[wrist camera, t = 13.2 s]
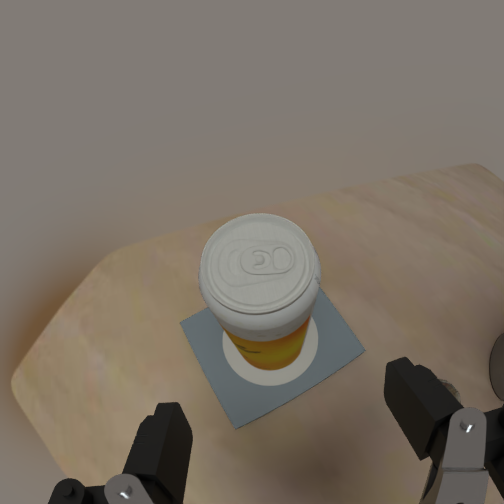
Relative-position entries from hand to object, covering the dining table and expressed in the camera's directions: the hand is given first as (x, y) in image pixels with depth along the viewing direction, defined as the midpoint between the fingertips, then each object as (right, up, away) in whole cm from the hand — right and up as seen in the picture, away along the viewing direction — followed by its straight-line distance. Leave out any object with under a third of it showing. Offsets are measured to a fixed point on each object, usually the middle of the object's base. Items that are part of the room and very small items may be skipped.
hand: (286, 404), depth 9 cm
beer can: (+1, -3, +16) cm, 17 cm away
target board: (+1, -3, +17) cm, 18 cm away
